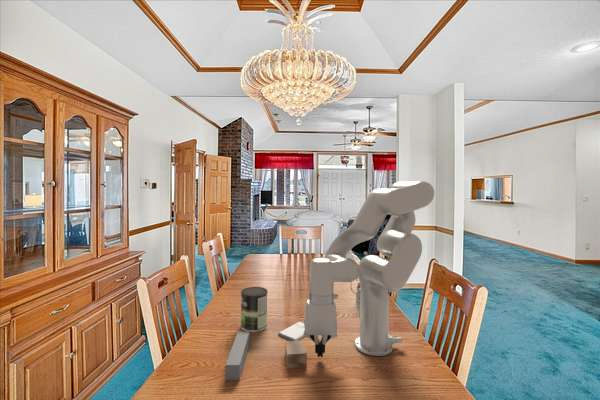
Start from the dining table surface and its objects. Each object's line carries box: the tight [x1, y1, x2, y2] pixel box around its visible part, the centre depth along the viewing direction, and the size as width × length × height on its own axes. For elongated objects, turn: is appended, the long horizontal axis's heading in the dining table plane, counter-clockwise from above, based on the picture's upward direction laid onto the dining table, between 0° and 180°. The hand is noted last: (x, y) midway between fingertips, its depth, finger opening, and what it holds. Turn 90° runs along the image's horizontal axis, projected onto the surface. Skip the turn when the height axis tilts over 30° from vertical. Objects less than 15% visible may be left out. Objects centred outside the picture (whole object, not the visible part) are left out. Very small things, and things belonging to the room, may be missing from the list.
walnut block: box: [284, 339, 308, 369], centre depth 98 cm, size 6×8×4 cm
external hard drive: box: [278, 321, 305, 341], centre depth 117 cm, size 2×8×12 cm
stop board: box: [224, 331, 250, 381], centre depth 98 cm, size 4×20×4 cm, turn 1°
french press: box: [350, 251, 369, 309], centre depth 144 cm, size 10×12×25 cm
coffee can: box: [240, 286, 269, 333], centre depth 121 cm, size 10×10×14 cm
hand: (319, 354), depth 98 cm, fingers closed
